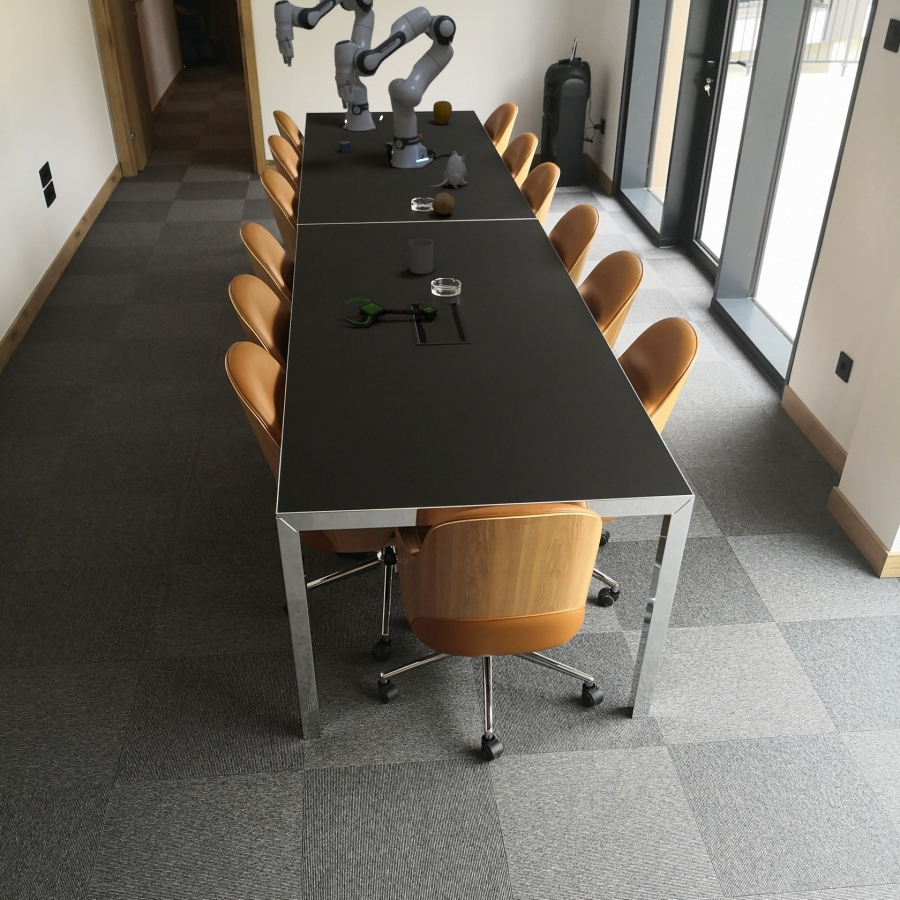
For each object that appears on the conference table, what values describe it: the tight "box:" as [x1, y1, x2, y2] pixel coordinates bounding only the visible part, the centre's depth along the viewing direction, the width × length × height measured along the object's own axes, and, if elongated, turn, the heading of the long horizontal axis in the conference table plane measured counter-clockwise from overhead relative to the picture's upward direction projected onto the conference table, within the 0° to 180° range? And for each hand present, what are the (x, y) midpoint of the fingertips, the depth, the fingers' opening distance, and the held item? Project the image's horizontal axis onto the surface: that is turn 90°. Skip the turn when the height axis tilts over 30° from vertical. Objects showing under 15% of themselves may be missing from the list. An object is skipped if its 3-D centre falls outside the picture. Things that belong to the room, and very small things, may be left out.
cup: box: [408, 237, 434, 275], centre depth 305 cm, size 8×8×10 cm
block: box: [338, 140, 352, 154], centre depth 450 cm, size 5×4×5 cm
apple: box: [432, 100, 453, 126], centre depth 501 cm, size 11×11×13 cm
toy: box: [428, 149, 468, 189], centre depth 390 cm, size 9×24×15 cm, turn 137°
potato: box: [431, 192, 456, 216], centre depth 360 cm, size 10×14×8 cm
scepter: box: [341, 295, 439, 328], centre depth 271 cm, size 6×13×30 cm
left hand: (287, 65), depth 453 cm, fingers open, 8 cm apart
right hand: (347, 110), depth 408 cm, fingers open, 8 cm apart
